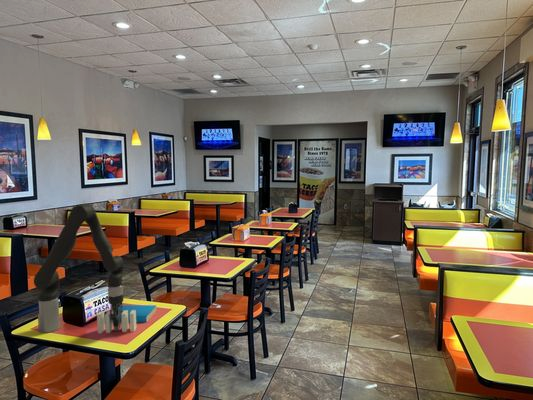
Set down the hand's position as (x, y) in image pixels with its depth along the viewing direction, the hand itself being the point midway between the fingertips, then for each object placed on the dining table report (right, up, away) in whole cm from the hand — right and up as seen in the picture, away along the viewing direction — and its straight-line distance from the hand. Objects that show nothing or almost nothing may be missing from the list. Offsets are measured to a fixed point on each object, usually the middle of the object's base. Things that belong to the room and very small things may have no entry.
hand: (117, 324), depth 201 cm
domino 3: (0, -2, 0) cm, 2 cm away
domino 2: (-4, -4, 0) cm, 5 cm away
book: (0, -2, +19) cm, 19 cm away
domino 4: (+4, -3, +1) cm, 5 cm away
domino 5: (+8, -3, +1) cm, 9 cm away
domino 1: (-8, -4, 0) cm, 9 cm away
